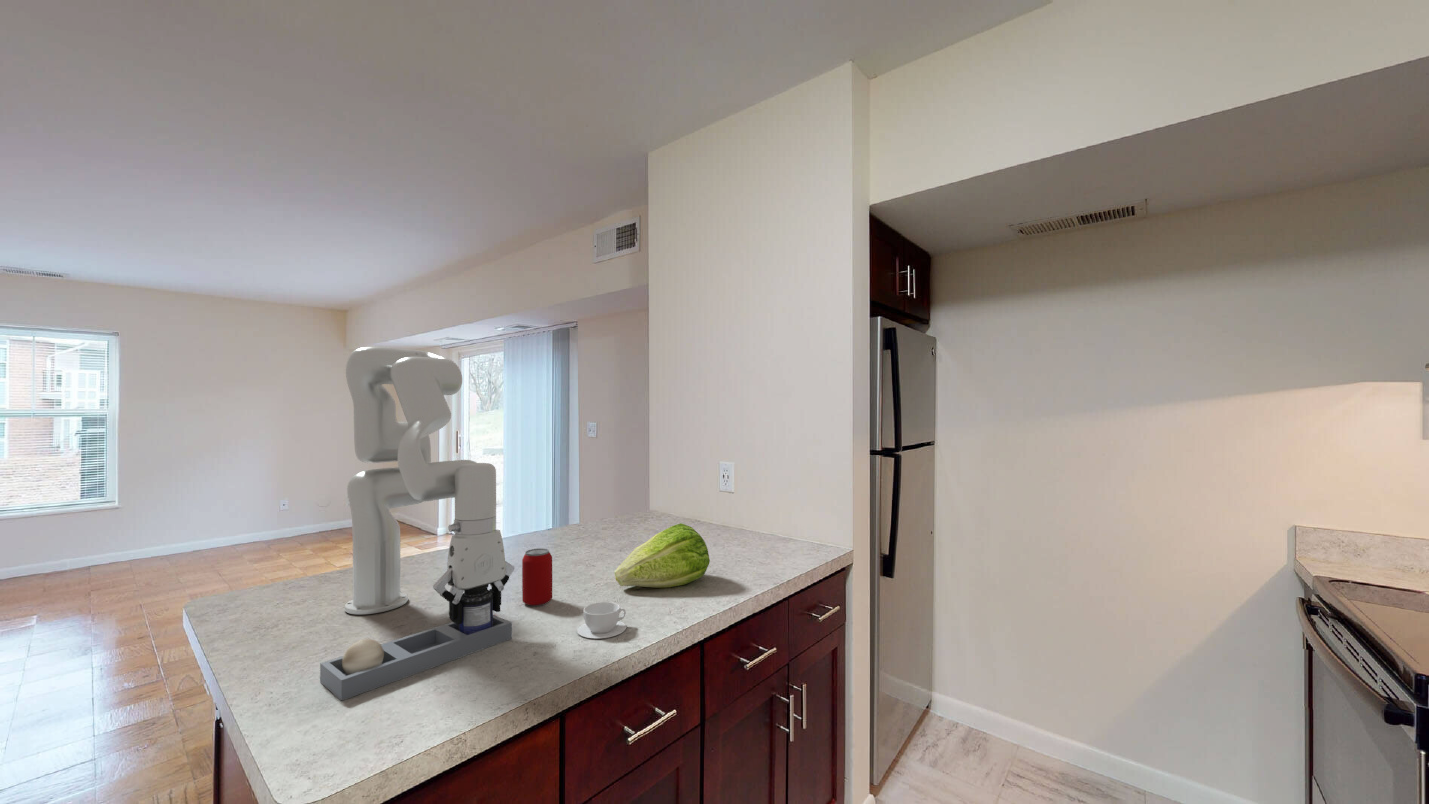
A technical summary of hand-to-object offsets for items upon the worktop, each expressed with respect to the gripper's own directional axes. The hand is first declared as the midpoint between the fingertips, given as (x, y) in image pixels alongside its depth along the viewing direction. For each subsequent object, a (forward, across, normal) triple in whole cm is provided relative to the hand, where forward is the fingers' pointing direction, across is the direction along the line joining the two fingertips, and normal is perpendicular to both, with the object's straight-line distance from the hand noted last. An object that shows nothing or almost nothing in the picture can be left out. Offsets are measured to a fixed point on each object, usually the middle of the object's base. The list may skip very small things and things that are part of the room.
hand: (476, 615), depth 110 cm
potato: (+1, -20, 0) cm, 20 cm away
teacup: (+5, +19, -16) cm, 25 cm away
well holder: (+5, -10, 0) cm, 11 cm away
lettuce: (+5, +48, -4) cm, 48 cm away
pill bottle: (+4, 0, 0) cm, 4 cm away
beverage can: (+5, +20, +9) cm, 22 cm away
